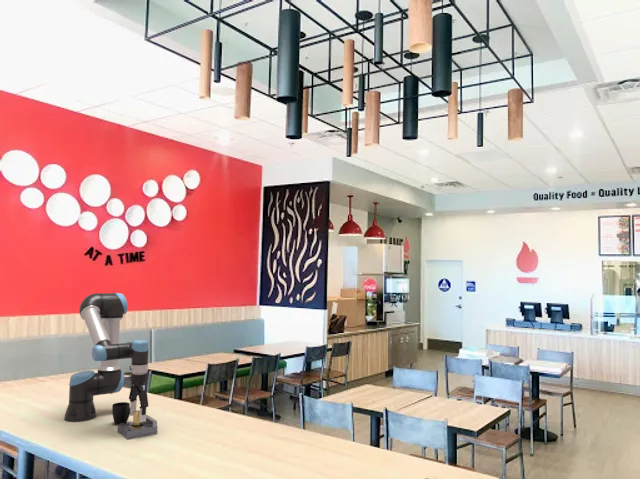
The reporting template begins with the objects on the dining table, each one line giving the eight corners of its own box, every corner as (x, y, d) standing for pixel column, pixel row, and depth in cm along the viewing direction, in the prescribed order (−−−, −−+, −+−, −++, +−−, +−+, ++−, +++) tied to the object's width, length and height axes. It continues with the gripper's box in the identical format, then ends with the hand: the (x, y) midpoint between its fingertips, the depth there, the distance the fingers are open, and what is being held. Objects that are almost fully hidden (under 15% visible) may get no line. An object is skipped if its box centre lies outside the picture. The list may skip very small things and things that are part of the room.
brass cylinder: (131, 432, 246) (132, 411, 247) (139, 431, 249) (140, 409, 249) (134, 434, 243) (135, 413, 244) (142, 433, 246) (143, 411, 246)
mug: (120, 428, 253) (121, 408, 254) (108, 423, 261) (109, 404, 262) (136, 424, 259) (136, 405, 260) (123, 420, 267) (124, 401, 268)
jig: (117, 431, 247) (118, 419, 247) (146, 426, 256) (147, 414, 256) (127, 439, 236) (127, 425, 236) (157, 433, 245) (157, 420, 245)
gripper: (123, 370, 255) (121, 414, 254) (140, 378, 236) (138, 425, 234) (138, 368, 260) (136, 411, 258) (156, 376, 240) (155, 423, 239)
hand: (137, 418), depth 246 cm, fingers open, 13 cm apart
